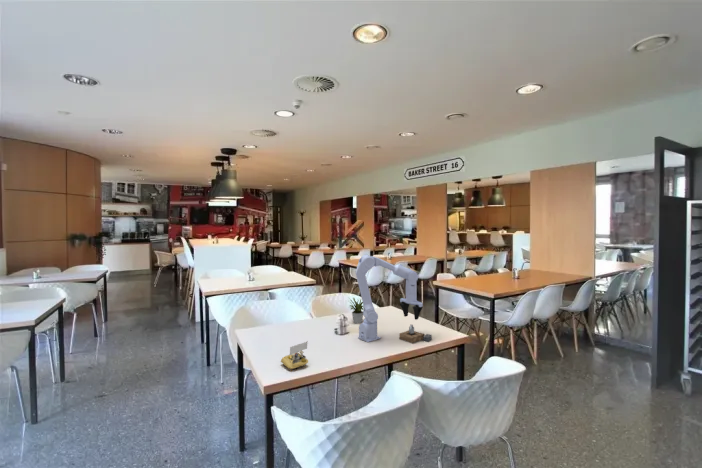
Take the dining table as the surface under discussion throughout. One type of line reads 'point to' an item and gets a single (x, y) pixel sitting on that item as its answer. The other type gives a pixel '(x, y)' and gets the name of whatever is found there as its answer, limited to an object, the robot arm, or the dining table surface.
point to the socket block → (411, 337)
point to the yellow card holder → (295, 356)
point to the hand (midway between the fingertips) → (411, 317)
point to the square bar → (427, 337)
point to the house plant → (357, 311)
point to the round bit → (411, 330)
